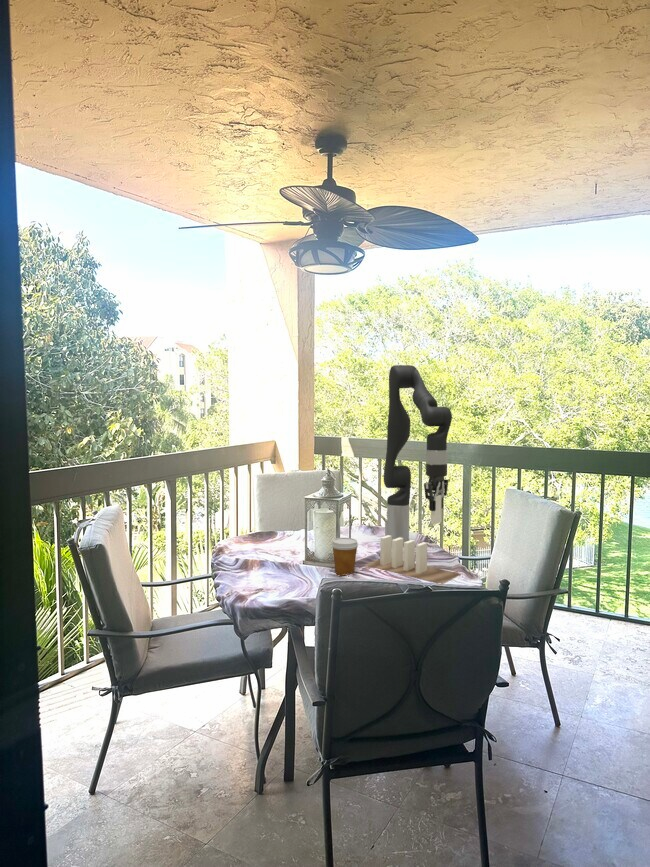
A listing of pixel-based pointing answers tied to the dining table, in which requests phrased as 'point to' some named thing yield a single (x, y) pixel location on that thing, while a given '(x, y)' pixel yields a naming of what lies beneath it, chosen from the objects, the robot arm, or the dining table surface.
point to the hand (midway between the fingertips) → (436, 509)
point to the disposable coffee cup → (344, 555)
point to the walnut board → (429, 575)
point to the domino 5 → (437, 511)
